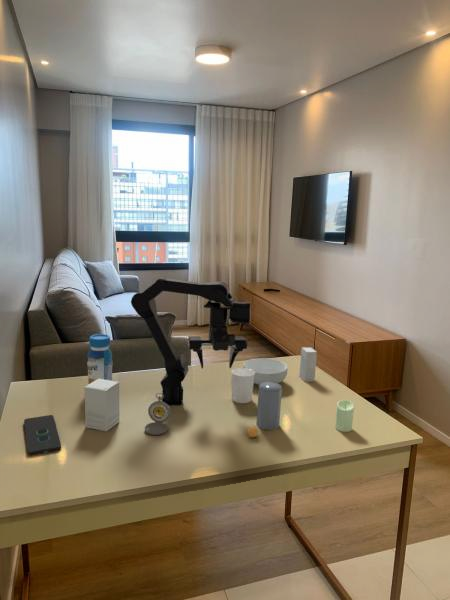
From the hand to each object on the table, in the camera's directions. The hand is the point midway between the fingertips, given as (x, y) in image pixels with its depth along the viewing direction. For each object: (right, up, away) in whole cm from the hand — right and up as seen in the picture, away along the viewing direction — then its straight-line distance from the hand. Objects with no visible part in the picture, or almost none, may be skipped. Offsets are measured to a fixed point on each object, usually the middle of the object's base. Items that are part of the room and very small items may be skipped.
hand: (216, 367), depth 148 cm
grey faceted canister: (+16, -16, -10) cm, 24 cm away
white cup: (+9, -12, +8) cm, 17 cm away
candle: (+39, -17, -9) cm, 44 cm away
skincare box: (+35, -9, +31) cm, 48 cm away
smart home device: (-48, -16, -22) cm, 55 cm away
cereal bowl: (+18, -10, +25) cm, 32 cm away
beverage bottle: (-40, -10, +9) cm, 42 cm away
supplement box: (-33, -15, -14) cm, 39 cm away
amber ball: (+11, -17, -17) cm, 27 cm away
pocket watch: (-17, -16, -15) cm, 28 cm away
